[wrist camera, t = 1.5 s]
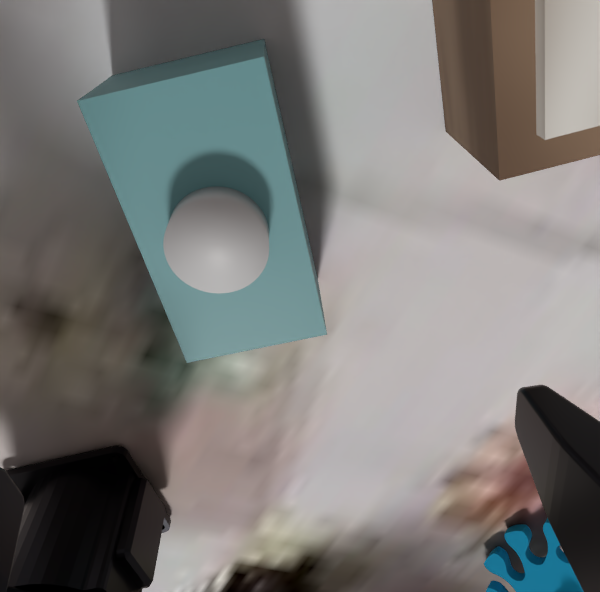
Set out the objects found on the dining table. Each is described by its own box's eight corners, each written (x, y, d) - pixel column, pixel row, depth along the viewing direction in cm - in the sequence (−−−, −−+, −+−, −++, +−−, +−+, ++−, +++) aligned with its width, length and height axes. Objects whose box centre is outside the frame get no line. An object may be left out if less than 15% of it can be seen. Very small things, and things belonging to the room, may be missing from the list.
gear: (580, 496, 27) (744, 688, 24) (598, 454, 32) (737, 610, 29) (433, 574, 33) (549, 738, 30) (466, 529, 38) (570, 666, 35)
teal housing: (199, 301, 22) (183, 381, 18) (114, 74, 17) (64, 109, 13) (317, 276, 22) (329, 352, 17) (264, 38, 17) (263, 62, 13)
